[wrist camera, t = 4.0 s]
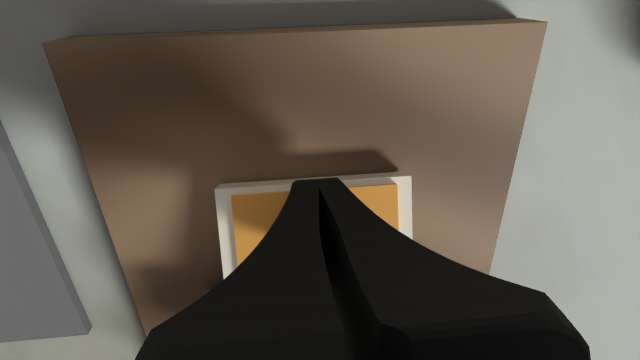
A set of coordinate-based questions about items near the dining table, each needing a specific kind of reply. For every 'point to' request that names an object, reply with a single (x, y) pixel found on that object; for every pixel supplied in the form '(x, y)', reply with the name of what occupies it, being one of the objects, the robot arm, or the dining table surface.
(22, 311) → the rest mat
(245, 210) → the white two-tone slab
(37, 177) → the dining table surface
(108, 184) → the switch panel
